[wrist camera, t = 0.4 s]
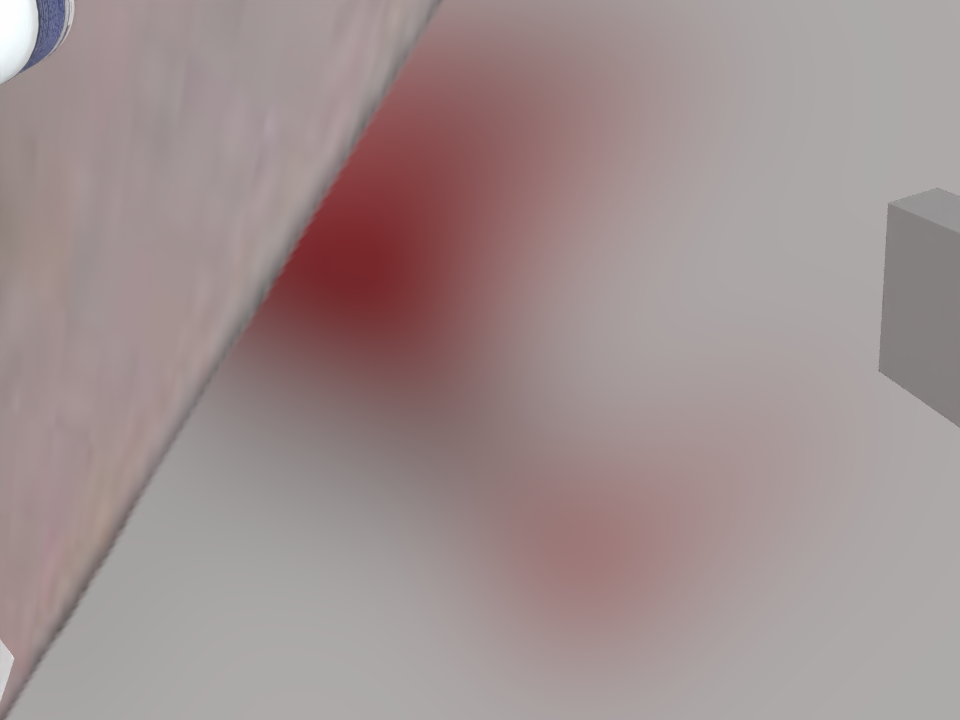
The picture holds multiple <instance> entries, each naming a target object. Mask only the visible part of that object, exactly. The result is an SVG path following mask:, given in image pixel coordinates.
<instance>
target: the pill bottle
mask: <svg viewBox="0 0 960 720" xmlns="http://www.w3.org/2000/svg"><path fill="white" fill-rule="evenodd" d="M73 16H74V0H0V85H1V84H3V83H5V82H7V81H9V80H10V79H11V78H13V77H15V76H16V75H18V74H19V73H21V72H23V71H24V70H26V69H28V68H30V67H31V66H33V65H35V64H36V63H38V62H40V61H42V60H44V59H45V58H46V57H48V56H49V55H51V54H52V53H53V52H54V51H55V50H56V49H57V48H58V47H59V46H60V45H61V44H62V43H63V41H64V40H65V38H66V37H67V35H68V33H69V30H70V28H71V25H72V21H73Z"/></svg>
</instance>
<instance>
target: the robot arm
mask: <svg viewBox="0 0 960 720" xmlns="http://www.w3.org/2000/svg"><path fill="white" fill-rule="evenodd" d="M887 216H888V217H887V234H886V251H885V269H884V285H883V303H882V321H881V338H880V357H879V372H881V373H882V374H884V375H885V376H887V377H888V378H889V379H891V380H892V381H894V382H895V383H897V384H898V385H900V386H901V387H902V388H904V389H905V390H907V391H908V392H910V393H911V394H912V395H914V396H915V397H917V398H918V399H920V400H921V401H922V402H924V403H925V404H927V405H928V406H930V407H931V408H932V409H934V410H935V411H937V412H938V413H940V414H941V415H943V416H944V417H945V418H947V419H948V420H950V421H951V422H953V423H954V424H955V425H957V426H958V427H960V196H958V195H956V194H952V193H950V192H948V191H945V190H942V189H939V188H936V189H932V190H929V191H926V192H922V193H919V194H916V195H913V196H909V197H906V198H903V199H900V200H896V201H893V202H890V203H888V215H887ZM13 661H14V657H13V656H12V654H11V653H10V652H9V650H8V649H7V648H6V646H5V645H4V644H3V642H2V641H1V640H0V701H1V698H2V695H3V692H4V689H5V686H6V683H7V680H8V677H9V673H10V670H11V667H12V664H13Z"/></svg>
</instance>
